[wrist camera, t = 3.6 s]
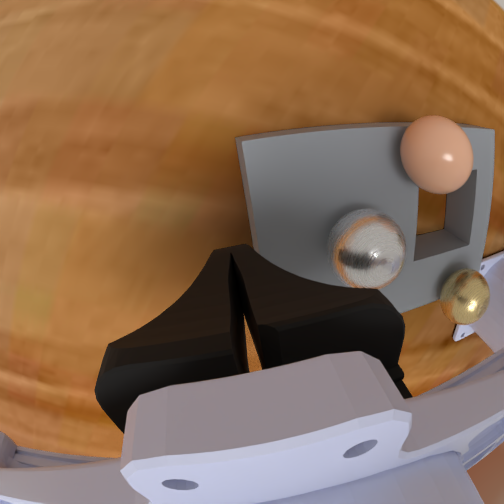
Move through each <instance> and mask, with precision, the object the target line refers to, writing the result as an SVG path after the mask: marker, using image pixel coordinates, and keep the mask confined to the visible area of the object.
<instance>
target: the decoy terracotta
mask: <svg viewBox="0 0 504 504" xmlns="http://www.w3.org/2000/svg"><path fill="white" fill-rule="evenodd" d="M400 156H401V161H402V165H403V167H404V169H405V171H406V173H407V175H408V176H409V178H410V179H411V180H412V181H413V182H414V183H415V184H416V185H417V186H418V187H420V188H421V189H423V190H425V191H428V192H430V193H435V194H447V193H451V192H453V191H455V190H457V189H459V188H460V187H461V186H463V185H464V183H465V182H466V181H467V180H468V178H469V176H470V174H471V171H472V168H473V160H474V159H473V149H472V146H471V143H470V141H469V138H468V137H467V135H466V134H465V132H464V131H463V130H462V128H461V127H460V126H459V125H457V124H456V123H455V122H453V121H452V120H450V119H448V118H445V117H442V116H437V115H429V116H424V117H421V118H419V119H417V120H415V121H414V122H413V123H412V124H411V125H409V127H408V128H407V129H406V131H405V133H404V135H403V137H402V140H401V145H400Z"/></svg>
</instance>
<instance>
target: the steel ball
mask: <svg viewBox="0 0 504 504" xmlns="http://www.w3.org/2000/svg"><path fill="white" fill-rule="evenodd" d="M406 253H407V247H406V241H405V237H404V234H403V232H402V230H401V228H400V226H399V225H398V224H397V223H396V221H395V220H394V219H392V218H391V217H390V216H389V215H387V214H385V213H384V212H381V211H379V210H375V209H358V210H355V211H352V212H350V213H348V214H346V215H345V216H343V217H342V218H341V219H340V220H339V221H338V222H337V223H336V224H335V225H334V227H333V229H332V230H331V232H330V235H329V238H328V242H327V258H328V262H329V265H330V267H331V270H332V271H333V273H334V274H335V276H336V277H337V278H338V279H339V280H340V281H341V282H342V283H343V284H345V285H346V286H348V287H352V288H373V289H378V290H379V289H381V288H384V287H386V286H387V285H389V284H390V283H392V282H393V281H394V280H395V279H396V278H397V276H398V275H399V274H400V272H401V270H402V268H403V266H404V263H405V260H406Z"/></svg>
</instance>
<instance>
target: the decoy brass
mask: <svg viewBox="0 0 504 504" xmlns="http://www.w3.org/2000/svg"><path fill="white" fill-rule="evenodd" d="M489 301H490V289H489V285H488V283H487V281H486V279H485V278H484V277H483V275H482V274H481V273H479V272H478V271H476V270H473V269H469V268H464V269H459V270H457V271H455V272H453V273H452V274H451V275H450V276H449V277H448V278H447V279H446V280H445V282H444V284H443V286H442V289H441V293H440V303H441V308H442V310H443V312H444V314H445V316H446V317H447V318H448V319H449V320H450V321H452V322H453V323H456V324H459V325H469V324H472V323H474V322H476V321H478V320H479V319H480V318H481V317H482V316H483V315H484V313H485V312H486V310H487V308H488V305H489Z"/></svg>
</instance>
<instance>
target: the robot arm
mask: <svg viewBox="0 0 504 504" xmlns="http://www.w3.org/2000/svg"><path fill="white" fill-rule="evenodd" d="M479 273H481V274H482V275H483V277H484V278H485V279H486V281H487V283H488V285H489V289H490V301H489V305H488V308H487V310H486V312H485V313H484V315H483V316H482V317H481V318H480V319H479V320H478V321H476V322H474V323H472V324H469V325H459V324H457V326H456V329H455V332H454V335H453V339H454V340H455V341H458V340H460V339H462V338H464V337H466V336H468V335H470V334H472V333H474V332H476V333H477V334H478V336H479V337H480V338H481V339H482V340H483V341H484V342H485V343H486V344H487V345H488V346H489V347H490V348H491V349H492V350H493V352H494V354H493V355H491V356H490V357H488V358H487V359H485V360H483V361H482V362H480V363H479V364H477V365H475V366H474V367H472V368H470V369H468V370H467V371H465V372H463V373H461V374H460V375H458V376H456V377H454V378H452V379H451V380H449V381H447V382H445V383H443V384H441V385H439V386H437V387H435V388H433V389H431V390H429V391H427V392H425V393H423V394H421V395H419V396H416V397H412V395H411V393H410V392H409V390H408V389H407V387H406V386H405V384H404V382H403V381H402V379H403V378H404V372H403V371H402V369H401V368H400V366H399V365H398V360H399V356H400V352H401V348H402V344H403V340H404V334H405V324H404V320H403V317H402V315H401V314H400V313H399V312H398V311H397V309H396V308H395V307H394V306H393V304H392V303H391V302H390V301H389V300H388V299H387V298H386V297H385V296H384V295H383V294H382V293H381V292H380V291H379V290H378V289H373V288H352V287H343V286H336V285H330V284H325V283H321V282H317V281H313V280H310V279H306V278H303V277H300V276H298V275H295V274H293V273H290V272H288V271H286V270H284V269H282V268H280V267H278V266H276V265H275V264H273V263H271V262H270V261H268V260H267V259H265V258H264V257H262V256H261V255H260V254H259V253H257V252H256V251H255V250H254V249H252V248H251V247H250V246H249V245H247V244H241V245H236V246H231V247H226V248H221V249H216V250H214V251H213V252H212V253H211V255H210V257H209V259H208V261H207V262H206V264H205V266H204V267H203V269H202V271H201V272H200V274H199V275H198V277H197V278H196V279H195V281H194V282H193V284H192V285H191V286H190V287H189V288H188V290H187V291H186V292H185V293H184V294H183V295H182V296H181V297H180V298H179V299H178V300H177V301H176V302H175V303H174V304H172V305H171V306H170V307H169V308H168V309H166V310H165V311H164V312H163V313H161V314H160V315H159V316H158V317H156V318H155V319H153V320H152V321H150V322H149V323H147V324H146V325H144V326H142V327H141V328H139V329H137V330H136V331H134V332H132V333H130V334H128V335H126V336H124V337H122V338H120V339H118V340H116V341H114V342H112V343H109V344H108V347H107V349H106V352H105V355H104V357H103V361H102V364H101V368H100V371H99V375H98V378H97V382H96V386H95V394H96V399H97V401H98V403H99V404H100V406H101V407H102V409H103V410H104V411H105V413H106V414H107V415H108V416H109V417H110V419H111V420H112V421H113V422H114V423H115V424H116V425H117V427H118V428H119V429H120V430H121V431H122V432H123V433H124V440H123V448H122V456H121V457H120V458H105V457H90V456H79V455H70V454H62V453H55V452H48V451H42V450H36V449H31V448H26V447H21V446H17V445H16V444H15V442H14V441H13V440H12V439H10V438H9V437H8V436H7V435H6V434H4V433H3V432H1V431H0V504H484V503H483V501H482V499H481V497H480V495H479V493H478V491H477V489H476V487H475V486H474V484H473V482H472V480H471V479H470V477H469V475H468V473H467V471H466V470H468V469H469V468H471V467H472V466H473V465H475V464H476V463H477V462H479V461H480V460H481V459H483V458H484V457H485V456H486V455H488V454H489V453H490V452H491V451H493V450H494V449H495V448H496V447H497V446H499V445H500V444H501V443H502V442H503V441H504V251H502V252H500V253H497V254H494V255H492V256H489V257H487V258H484V259H482V262H481V266H480V270H479ZM244 316H245V319H246V322H247V325H248V328H249V330H250V333H251V336H252V339H253V342H254V345H255V348H256V351H257V354H258V356H259V360H260V363H261V367H262V370H259V371H255V372H249V366H248V359H247V348H246V335H245V323H244Z"/></svg>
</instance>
